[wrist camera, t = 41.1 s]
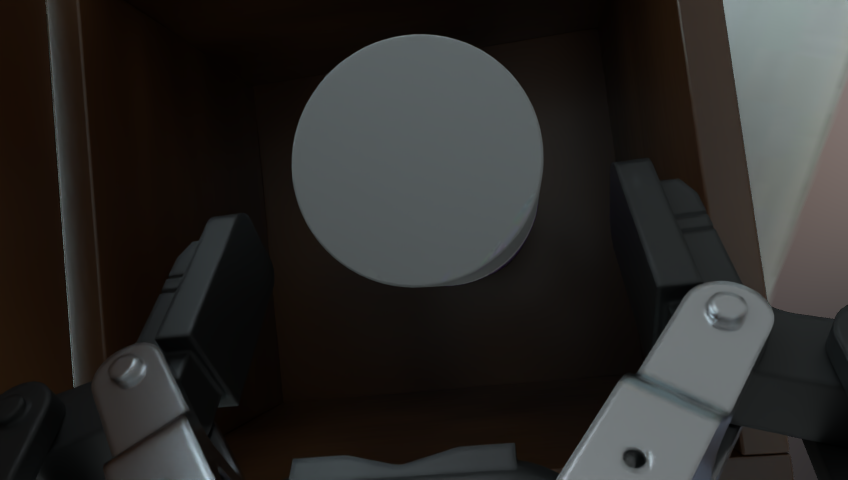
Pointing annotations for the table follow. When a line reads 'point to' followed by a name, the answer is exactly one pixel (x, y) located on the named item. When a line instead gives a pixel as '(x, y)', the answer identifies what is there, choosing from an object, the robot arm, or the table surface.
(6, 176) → the lid
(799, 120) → the table surface
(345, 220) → the container
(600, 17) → the chest
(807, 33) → the table surface
